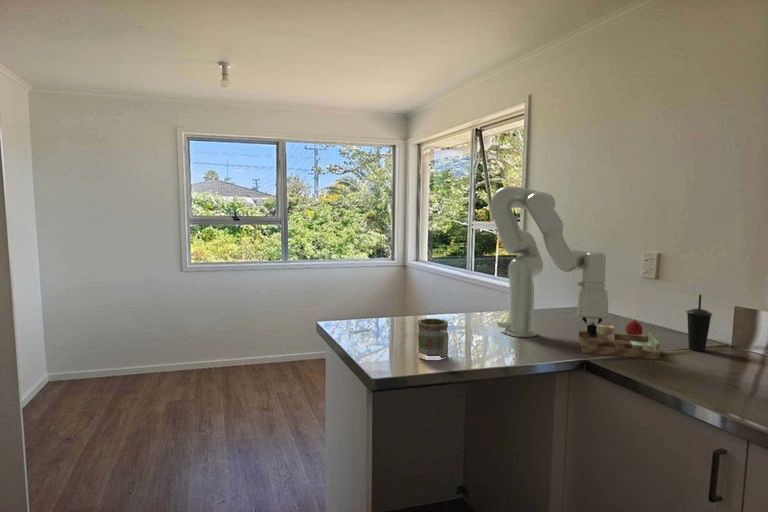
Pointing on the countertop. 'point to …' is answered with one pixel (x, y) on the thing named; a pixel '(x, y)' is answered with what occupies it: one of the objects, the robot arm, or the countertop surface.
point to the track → (621, 345)
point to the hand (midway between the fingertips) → (591, 335)
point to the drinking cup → (698, 327)
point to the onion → (634, 328)
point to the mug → (433, 337)
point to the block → (606, 333)
